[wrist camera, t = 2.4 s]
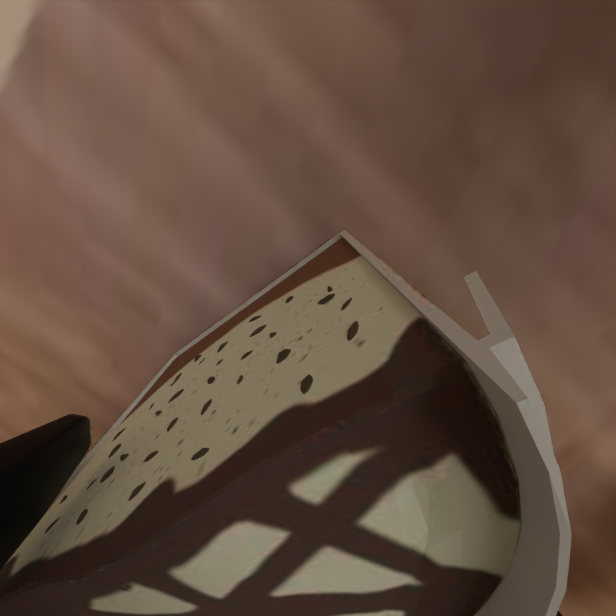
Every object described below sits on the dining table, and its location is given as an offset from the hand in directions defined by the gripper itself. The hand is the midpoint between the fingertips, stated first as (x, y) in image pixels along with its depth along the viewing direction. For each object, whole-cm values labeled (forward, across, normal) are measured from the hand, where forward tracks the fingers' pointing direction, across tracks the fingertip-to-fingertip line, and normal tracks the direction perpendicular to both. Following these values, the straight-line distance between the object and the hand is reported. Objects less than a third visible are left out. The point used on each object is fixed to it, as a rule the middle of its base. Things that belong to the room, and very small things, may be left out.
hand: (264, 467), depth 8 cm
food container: (+6, 0, 0) cm, 7 cm away
